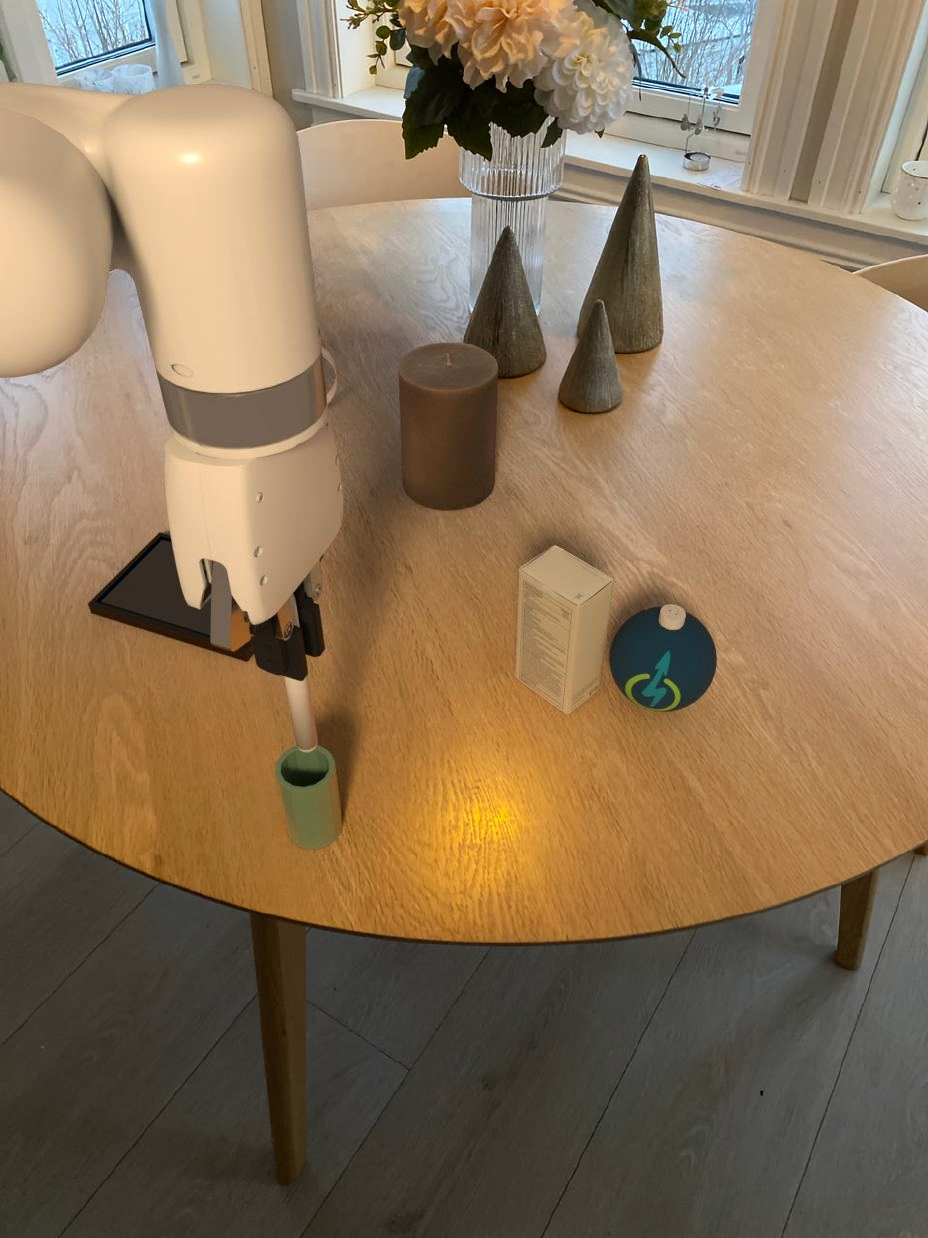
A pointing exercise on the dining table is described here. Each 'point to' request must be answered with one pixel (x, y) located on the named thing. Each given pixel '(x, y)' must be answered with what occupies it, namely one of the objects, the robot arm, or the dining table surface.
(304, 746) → the stylus
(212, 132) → the robot arm
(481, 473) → the pillar candle
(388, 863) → the dining table surface
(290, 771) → the pen pot
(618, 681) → the christmas ornament
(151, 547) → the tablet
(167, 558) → the screen
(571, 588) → the cosmetic box
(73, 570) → the dining table surface
